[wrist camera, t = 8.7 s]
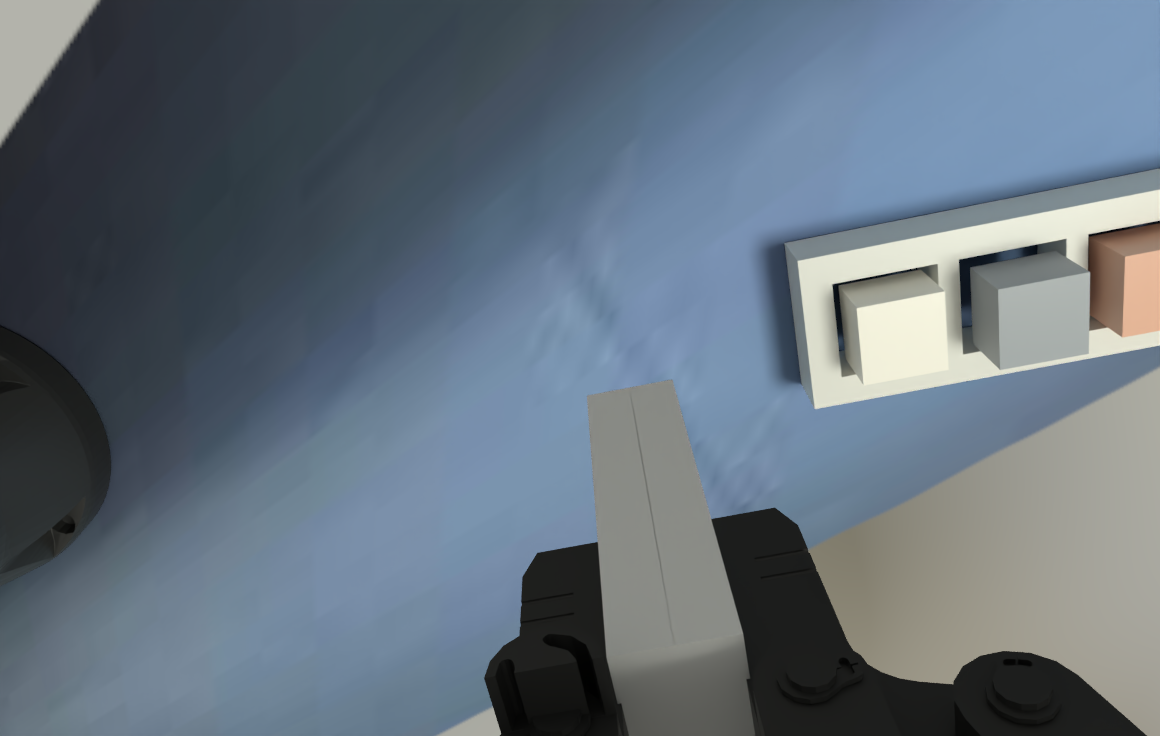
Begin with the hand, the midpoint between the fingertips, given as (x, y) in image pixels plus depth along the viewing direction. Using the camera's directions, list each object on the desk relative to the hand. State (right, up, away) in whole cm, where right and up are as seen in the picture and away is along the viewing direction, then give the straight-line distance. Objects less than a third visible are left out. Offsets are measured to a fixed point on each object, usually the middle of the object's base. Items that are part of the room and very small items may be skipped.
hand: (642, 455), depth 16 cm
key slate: (+20, +5, +28) cm, 35 cm away
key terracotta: (+26, +6, +29) cm, 39 cm away
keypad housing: (+20, +6, +31) cm, 37 cm away
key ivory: (+14, +4, +30) cm, 33 cm away
